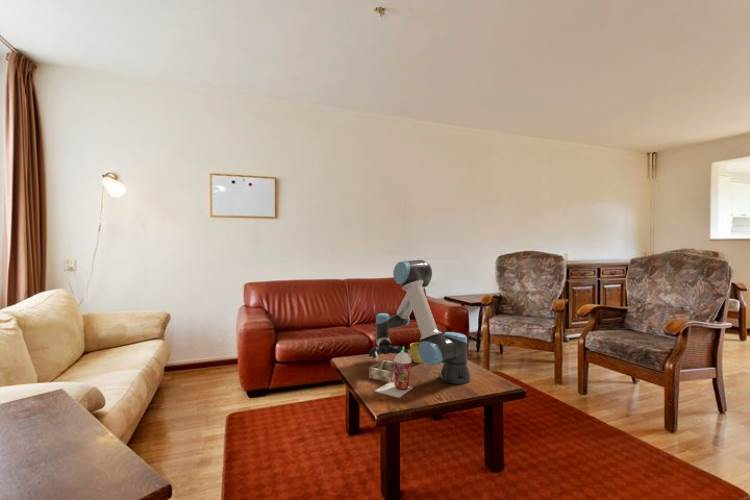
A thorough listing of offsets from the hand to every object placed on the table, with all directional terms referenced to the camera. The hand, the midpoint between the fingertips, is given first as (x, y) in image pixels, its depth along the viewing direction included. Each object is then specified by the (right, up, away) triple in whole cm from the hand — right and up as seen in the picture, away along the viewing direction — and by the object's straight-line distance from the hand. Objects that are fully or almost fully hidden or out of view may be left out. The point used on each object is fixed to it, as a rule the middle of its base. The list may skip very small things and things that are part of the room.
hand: (390, 357), depth 184 cm
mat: (+1, -13, -9) cm, 15 cm away
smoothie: (+5, -12, -8) cm, 15 cm away
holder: (-1, -12, +9) cm, 15 cm away
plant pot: (+18, -12, +32) cm, 38 cm away
